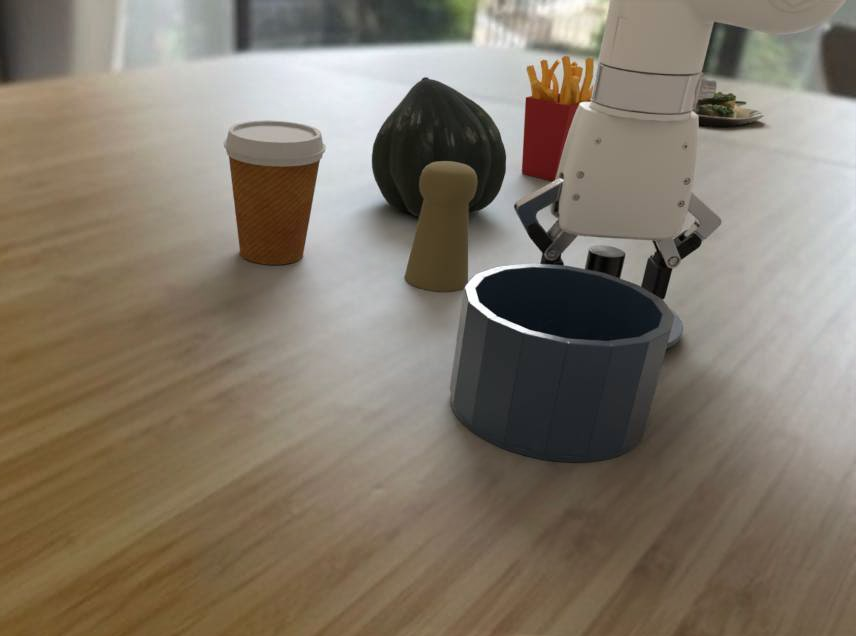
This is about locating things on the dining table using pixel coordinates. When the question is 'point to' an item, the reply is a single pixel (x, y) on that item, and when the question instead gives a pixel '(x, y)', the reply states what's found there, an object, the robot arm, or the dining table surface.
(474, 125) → the squash
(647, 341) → the tin
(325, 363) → the dining table surface
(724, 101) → the salad plate
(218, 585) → the dining table surface
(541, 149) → the french fries
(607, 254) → the tin lid
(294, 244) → the disposable coffee cup
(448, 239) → the cork
